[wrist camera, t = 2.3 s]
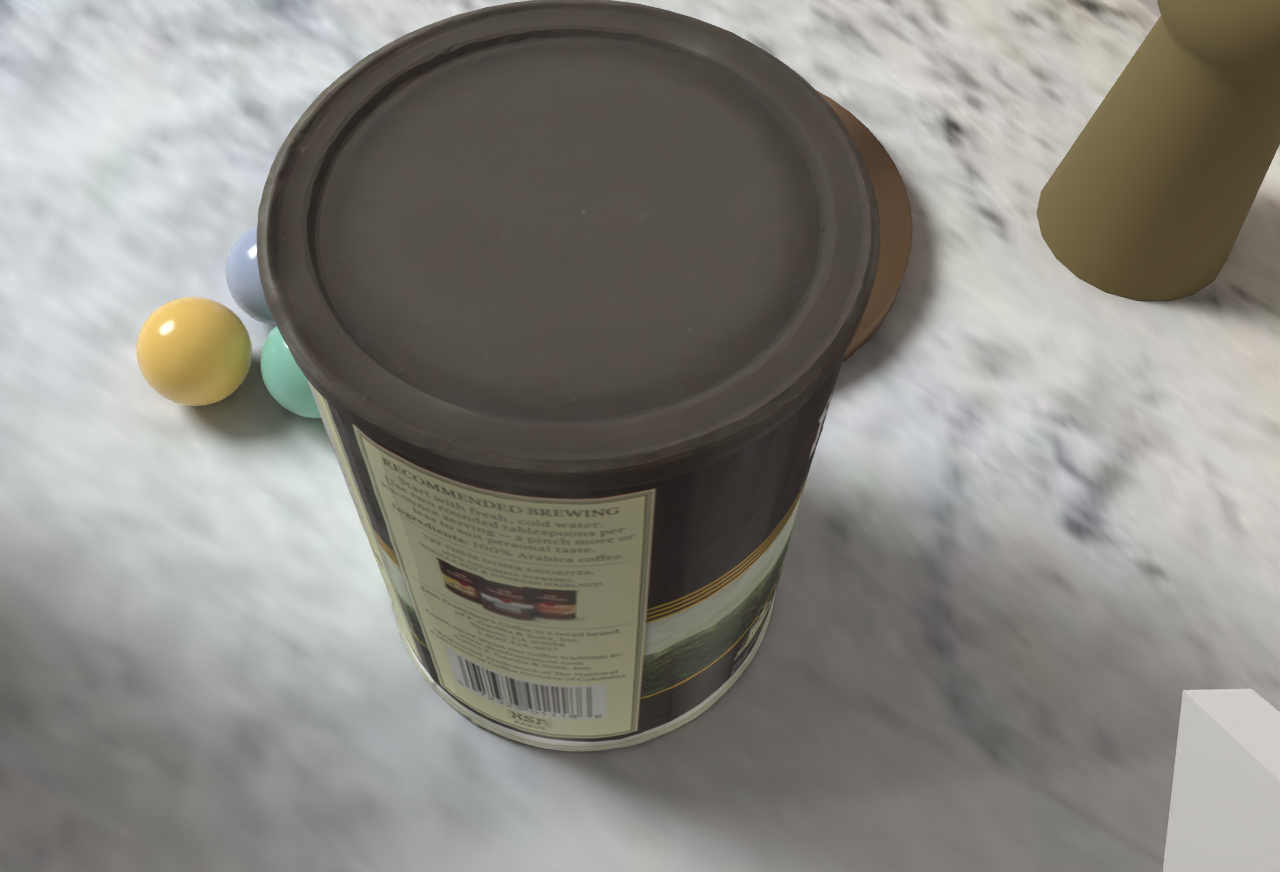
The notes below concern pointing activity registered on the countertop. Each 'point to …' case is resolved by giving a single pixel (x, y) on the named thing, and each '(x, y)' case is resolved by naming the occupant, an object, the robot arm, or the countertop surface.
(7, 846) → the countertop surface
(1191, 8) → the cork
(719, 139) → the coffee can
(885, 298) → the trivet
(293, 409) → the marble green
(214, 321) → the marble amber
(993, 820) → the countertop surface
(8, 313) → the countertop surface
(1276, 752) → the robot arm
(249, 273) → the marble blue
